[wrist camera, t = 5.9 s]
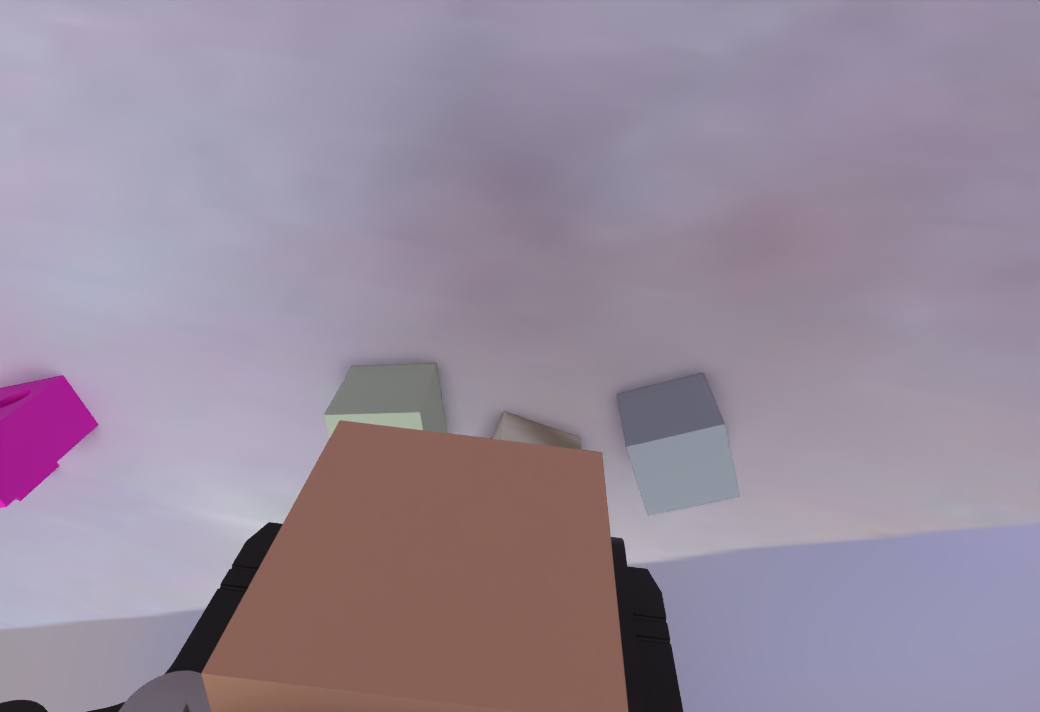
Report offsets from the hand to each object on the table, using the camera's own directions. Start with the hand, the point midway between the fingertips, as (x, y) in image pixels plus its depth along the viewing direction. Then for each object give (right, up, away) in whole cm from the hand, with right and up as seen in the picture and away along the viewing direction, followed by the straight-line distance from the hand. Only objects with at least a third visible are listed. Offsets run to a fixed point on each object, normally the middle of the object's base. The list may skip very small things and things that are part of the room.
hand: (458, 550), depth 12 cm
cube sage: (-6, +1, +24) cm, 24 cm away
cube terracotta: (0, 0, 0) cm, 0 cm away
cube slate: (+10, 0, +23) cm, 25 cm away
